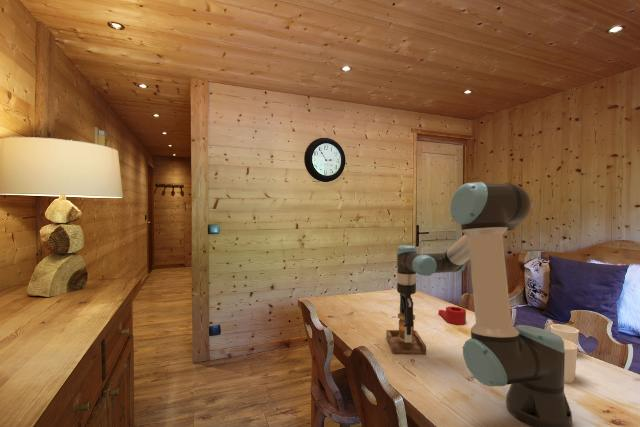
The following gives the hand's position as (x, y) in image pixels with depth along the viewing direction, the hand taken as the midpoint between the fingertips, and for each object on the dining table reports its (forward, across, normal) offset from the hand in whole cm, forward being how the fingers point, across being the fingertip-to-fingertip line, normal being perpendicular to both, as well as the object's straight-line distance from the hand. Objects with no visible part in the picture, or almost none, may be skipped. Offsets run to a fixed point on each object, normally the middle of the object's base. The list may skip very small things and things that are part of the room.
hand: (406, 338), depth 132 cm
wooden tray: (+4, +2, 0) cm, 4 cm away
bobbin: (+1, 0, 0) cm, 1 cm away
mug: (+4, -2, -62) cm, 63 cm away
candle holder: (+4, -21, -47) cm, 52 cm away
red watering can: (+5, +36, -31) cm, 48 cm away
